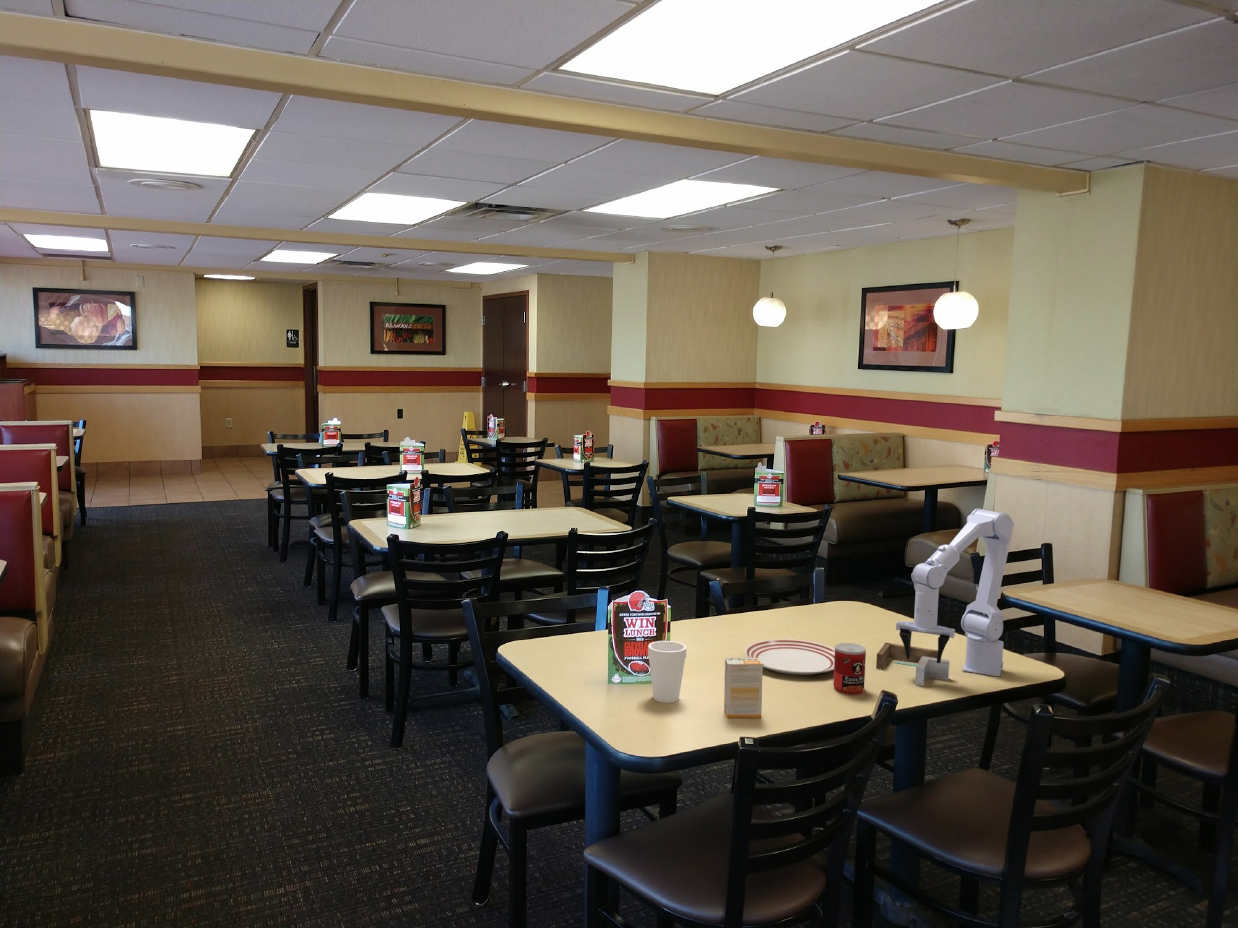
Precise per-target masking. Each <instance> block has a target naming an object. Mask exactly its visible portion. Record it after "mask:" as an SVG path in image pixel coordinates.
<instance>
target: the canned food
mask: <svg viewBox="0 0 1238 928" xmlns="http://www.w3.org/2000/svg"><path fill="white" fill-rule="evenodd" d="M834 649H835V656H834V670H833V688H834V689H835V691H836V692H838V693H841V694H845V695H859V694H861V693H863V692H864V690H865V679H866V678H865V675H866V657H867V656H866V655H867V651H866V647H865V646H863V645H860V644H856V643H851V642H842V643H841V642H840V643H837V644H836V645H835V646H834Z"/></svg>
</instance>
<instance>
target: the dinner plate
mask: <svg viewBox="0 0 1238 928" xmlns="http://www.w3.org/2000/svg"><path fill="white" fill-rule="evenodd" d="M744 655H745V658H759V659H760V661H761V663H762V664H763V668H765V669H768V670H770V671H772V670H773V672H776V673H781V674H784V673H785V674H784V675H791V676H792V675H795V676H808V675H817V674H823V673H827V672H831V671H834V656H835V647H834V648H833V647H831V646H829V645H825V644H823V643H819V642H815V641H810V640H804V639H803V640H802V639H793V638H791V639H790V638H780V639H779V638H777V639H764V640H761V641H756V642H753V643H750V644H748V645H747V646H746V647H745V649H744Z"/></svg>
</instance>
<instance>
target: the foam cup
mask: <svg viewBox="0 0 1238 928" xmlns="http://www.w3.org/2000/svg"><path fill="white" fill-rule="evenodd" d="M647 656H648V662H649V670H650V679H651V680H650V681H651V689H652V691H651V692H652V697H653V699H654V700H655V701H656V702H659V703H665V704H667V703H675V702H677V701H678V700H680V694H681V688H682V681H683V675H684V669H685V668H684V667H685V661H686V658H687V645H686V644H684V643H682V642H678V641H673V640H657V641H653V642H651V643H650V642H649V644H648V646H647Z"/></svg>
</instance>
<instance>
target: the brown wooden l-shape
mask: <svg viewBox="0 0 1238 928" xmlns="http://www.w3.org/2000/svg"><path fill="white" fill-rule="evenodd" d="M937 655H938V649H933V648H924V647H919V646H912V645H911V655H910V658H909V659H907V658H906V651H905V647H904V644H897V643H892V642H884V644H883V645H882V647H880V649H879V650H878V652H877V653H876V663H875V665H876V666H875V667H876V669H879V668H881V669H880V670H882V669H883V668H884V666H885V665H886V664H887V662H888V661H889V660H890V658H891V660H895V661H897V660H898V661H903V660H904V661H903V662H908V663H915V664H918V663H919V661H920V659H921V657H922V656H924V657H931V658H937ZM885 663H886V664H885Z"/></svg>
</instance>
